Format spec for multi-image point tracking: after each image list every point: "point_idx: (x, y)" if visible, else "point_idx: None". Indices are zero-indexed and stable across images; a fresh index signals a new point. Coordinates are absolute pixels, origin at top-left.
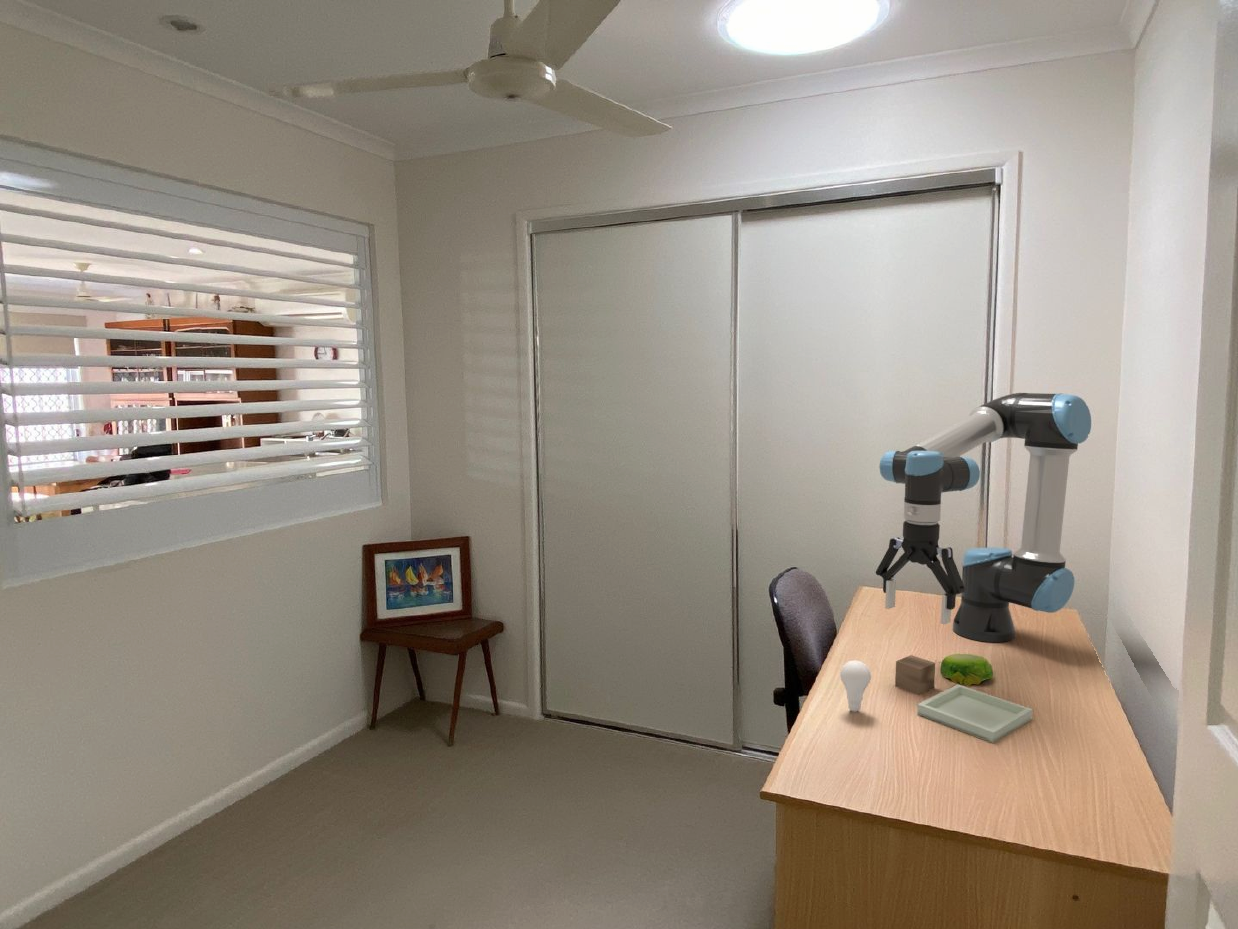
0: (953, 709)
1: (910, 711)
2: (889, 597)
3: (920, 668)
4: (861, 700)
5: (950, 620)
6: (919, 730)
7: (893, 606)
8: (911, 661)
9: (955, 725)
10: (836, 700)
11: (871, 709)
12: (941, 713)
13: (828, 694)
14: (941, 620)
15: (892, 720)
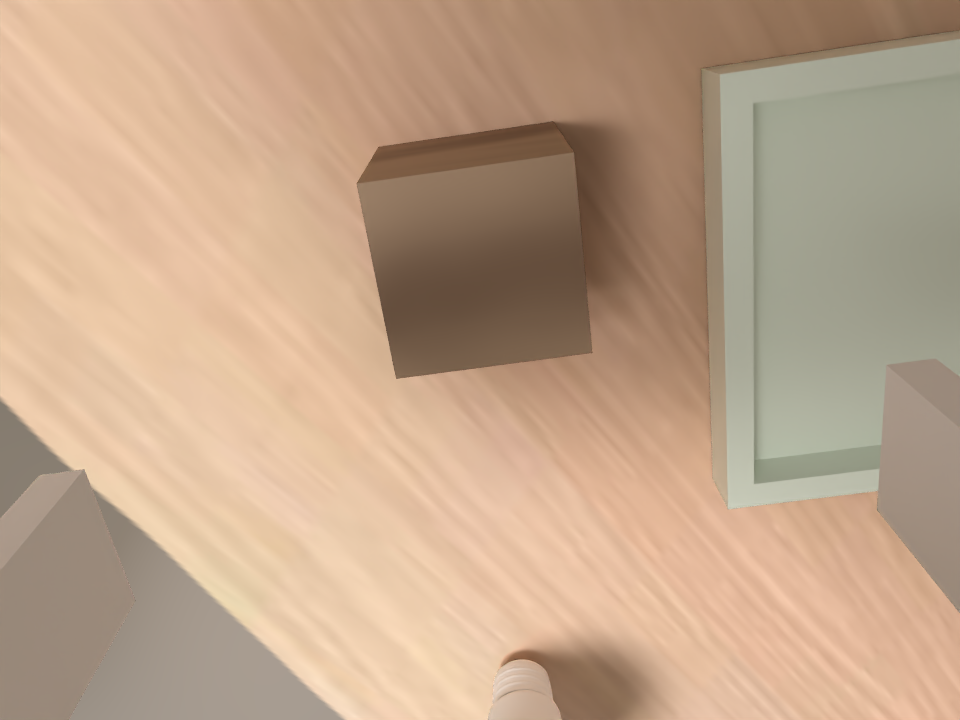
0: (827, 318)
1: (670, 478)
2: (58, 707)
3: (581, 339)
4: (559, 713)
5: (947, 375)
6: (811, 581)
7: (90, 506)
8: (456, 290)
9: None
10: (390, 654)
11: (546, 599)
12: (866, 490)
13: (320, 642)
14: (905, 533)
15: (677, 603)
